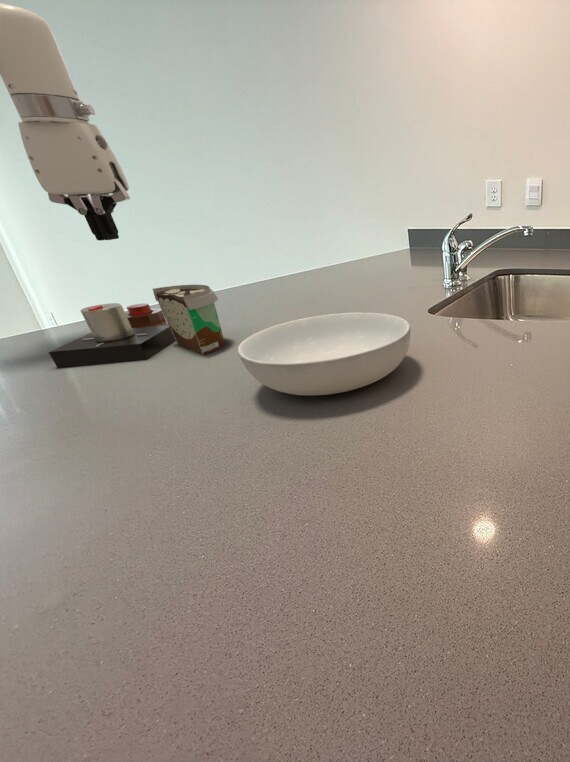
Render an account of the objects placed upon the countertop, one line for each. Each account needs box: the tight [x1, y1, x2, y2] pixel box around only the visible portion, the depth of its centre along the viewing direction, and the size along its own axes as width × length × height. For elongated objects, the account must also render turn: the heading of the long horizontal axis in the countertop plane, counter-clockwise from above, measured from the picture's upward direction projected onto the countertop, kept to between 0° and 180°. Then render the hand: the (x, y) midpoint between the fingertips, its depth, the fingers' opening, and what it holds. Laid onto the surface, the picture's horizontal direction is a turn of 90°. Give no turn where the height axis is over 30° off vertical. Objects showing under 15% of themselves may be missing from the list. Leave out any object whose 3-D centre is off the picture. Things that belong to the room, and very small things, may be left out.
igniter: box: [125, 307, 168, 328], centre depth 77 cm, size 10×8×4 cm
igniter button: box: [126, 303, 152, 316], centre depth 76 cm, size 3×3×2 cm
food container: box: [152, 284, 226, 356], centre depth 68 cm, size 12×6×10 cm, turn 58°
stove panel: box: [48, 325, 176, 369], centre depth 67 cm, size 12×10×3 cm
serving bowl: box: [237, 312, 411, 396], centre depth 55 cm, size 21×21×7 cm
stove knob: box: [80, 302, 134, 342], centre depth 65 cm, size 5×5×5 cm
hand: (108, 239), depth 70 cm, fingers closed
